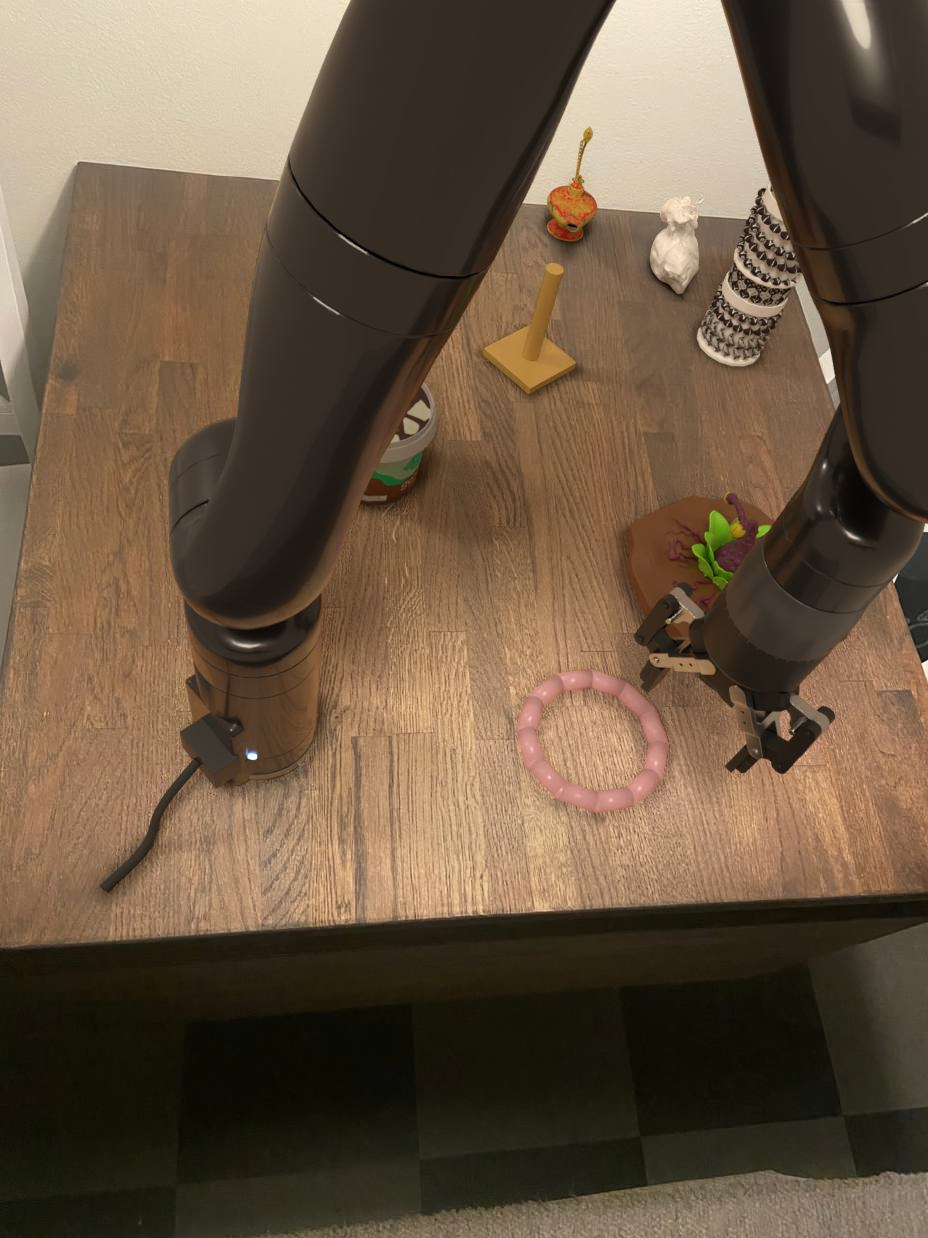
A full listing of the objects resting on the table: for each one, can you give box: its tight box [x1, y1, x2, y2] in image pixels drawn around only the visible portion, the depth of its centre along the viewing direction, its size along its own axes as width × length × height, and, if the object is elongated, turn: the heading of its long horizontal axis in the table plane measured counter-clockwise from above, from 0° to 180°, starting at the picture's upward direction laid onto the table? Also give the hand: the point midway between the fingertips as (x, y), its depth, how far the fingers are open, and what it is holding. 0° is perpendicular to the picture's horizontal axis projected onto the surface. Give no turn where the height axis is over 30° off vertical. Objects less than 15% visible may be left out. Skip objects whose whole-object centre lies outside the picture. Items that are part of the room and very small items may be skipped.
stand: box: [481, 262, 577, 395], centre depth 104 cm, size 8×8×13 cm
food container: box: [360, 381, 438, 506], centre depth 92 cm, size 12×6×10 cm, turn 168°
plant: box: [626, 491, 776, 637], centre depth 90 cm, size 20×20×11 cm
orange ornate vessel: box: [546, 126, 598, 242], centre depth 120 cm, size 7×18×11 cm, turn 172°
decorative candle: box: [696, 181, 804, 367], centre depth 107 cm, size 9×9×25 cm
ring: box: [515, 668, 670, 814], centre depth 82 cm, size 14×14×2 cm
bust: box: [649, 195, 700, 295], centre depth 120 cm, size 12×8×11 cm
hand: (692, 723), depth 70 cm, fingers open, 8 cm apart
